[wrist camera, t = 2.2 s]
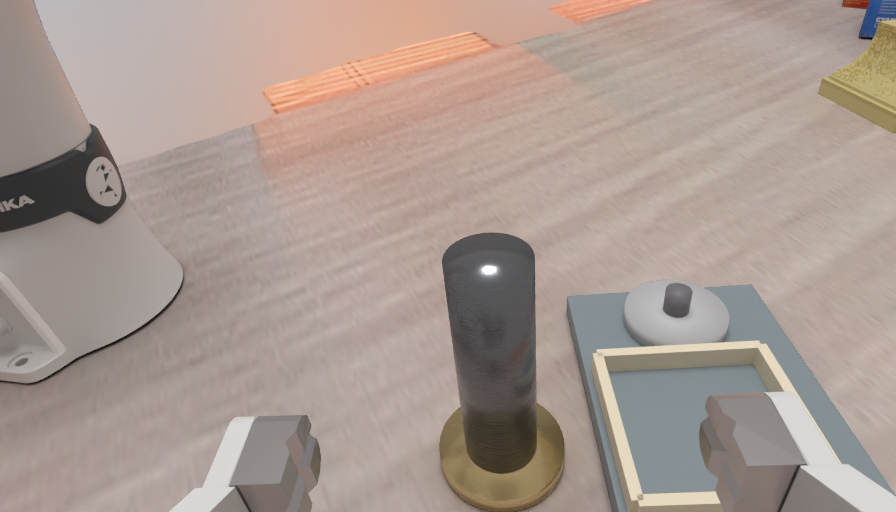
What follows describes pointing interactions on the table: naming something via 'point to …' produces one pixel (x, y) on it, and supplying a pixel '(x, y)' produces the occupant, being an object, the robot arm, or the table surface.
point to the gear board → (685, 385)
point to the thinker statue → (869, 80)
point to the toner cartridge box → (877, 16)
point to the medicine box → (855, 3)
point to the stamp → (496, 379)
